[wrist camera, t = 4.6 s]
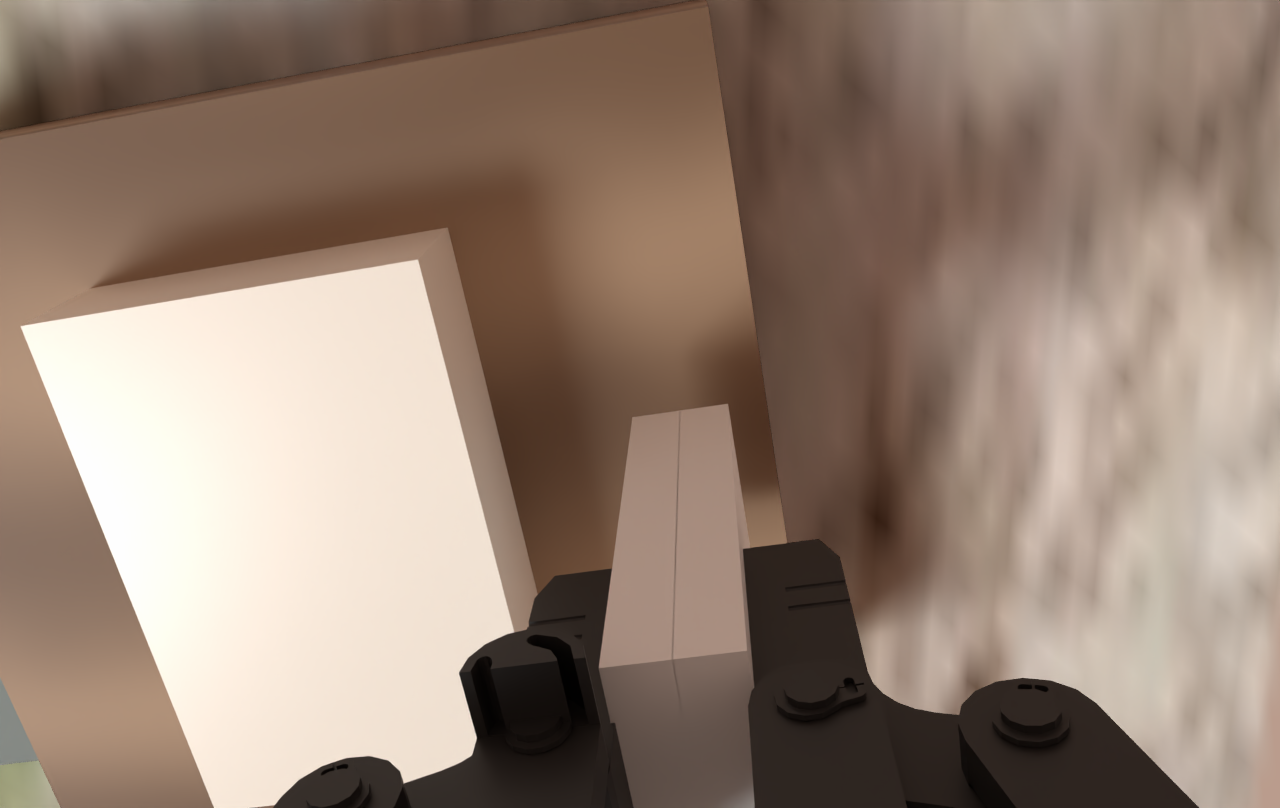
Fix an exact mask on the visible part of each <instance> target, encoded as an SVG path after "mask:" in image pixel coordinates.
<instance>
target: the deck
mask: <svg viewBox="0 0 1280 808" xmlns="http://www.w3.org/2000/svg"><path fill="white" fill-rule="evenodd" d="M442 228H448V231H449V235H450V239H451V243H452V247H453V251H454V255H455V259H456V263H457V267H458V271H459V276H460V280H461V284H462V288H463V292H464V296H465V300H466V304H467V308H468V312H469V316H470V320H471V324H472V328H473V333H474V337H475V341H476V345H477V349H478V353H479V357H480V361H481V365H482V369H483V373H484V377H485V381H486V386H487V390H488V394H489V398H490V402H491V406H492V410H493V414H494V418H495V422H496V426H497V430H498V434H499V439H500V443H501V447H502V451H503V455H504V459H505V463H506V467H507V471H508V475H509V479H510V483H511V487H512V492H513V496H514V500H515V504H516V508H517V512H518V516H519V520H520V524H521V528H522V532H523V536H524V540H525V545H526V549H527V553H528V557H529V561H530V565H531V569H532V573H533V577H534V581H535V585H536V589H537V593H538V594H539V593H540V592H541V591H542V589H543V588H544V587H545V586H546V585H547V584H548V583H549V582H550V581H551V579H552V578H553V577H554V576H557V575H565V574H572V573H580V572H588V571H596V570H604V569H611V568H612V565H613V558H614V551H615V543H616V536H617V528H618V521H619V513H620V506H621V499H622V491H623V484H624V476H625V469H626V461H627V454H628V447H629V439H630V432H631V424H632V417H638V416H645V415H652V414H659V413H666V412H673V411H680V410H687V409H694V408H701V407H708V406H715V405H723V404H728V407H729V414H730V420H731V427H732V433H733V440H734V446H735V453H736V459H737V466H738V472H739V479H740V485H741V491H742V498H743V504H744V511H745V517H746V524H747V530H748V537H749V543H750V548H753V547H761V546H769V545H777V544H784V543H787V538H786V531H785V524H784V517H783V511H782V504H781V497H780V490H779V483H778V477H777V470H776V463H775V456H774V449H773V443H772V436H771V429H770V422H769V415H768V409H767V402H766V395H765V388H764V382H763V375H762V368H761V361H760V354H759V348H758V341H757V334H756V327H755V320H754V314H753V307H752V300H751V293H750V286H749V280H748V273H747V266H746V259H745V252H744V246H743V239H742V232H741V225H740V218H739V212H738V205H737V198H736V191H735V184H734V178H733V171H732V164H731V157H730V150H729V144H728V137H727V130H726V123H725V116H724V110H723V103H722V96H721V89H720V82H719V76H718V69H717V62H716V55H715V48H714V42H713V35H712V28H711V21H710V15H709V8H708V4H707V1H706V0H693V1H688V2H682V3H677V4H672V5H666V6H661V7H656V8H650V9H645V10H640V11H635V12H629V13H624V14H619V15H613V16H608V17H603V18H597V19H592V20H587V21H582V22H576V23H571V24H566V25H560V26H555V27H550V28H544V29H539V30H534V31H529V32H523V33H518V34H513V35H507V36H502V37H497V38H491V39H486V40H481V41H475V42H470V43H465V44H460V45H454V46H449V47H444V48H438V49H433V50H428V51H422V52H417V53H412V54H407V55H401V56H396V57H391V58H385V59H380V60H375V61H369V62H364V63H359V64H353V65H348V66H343V67H338V68H332V69H327V70H322V71H316V72H311V73H306V74H300V75H295V76H290V77H285V78H279V79H274V80H269V81H263V82H258V83H253V84H247V85H242V86H237V87H232V88H226V89H221V90H216V91H210V92H205V93H200V94H194V95H189V96H184V97H178V98H173V99H168V100H163V101H157V102H152V103H147V104H141V105H136V106H131V107H125V108H120V109H115V110H110V111H104V112H99V113H94V114H88V115H83V116H78V117H72V118H67V119H62V120H57V121H51V122H46V123H41V124H35V125H30V126H25V127H19V128H14V129H9V130H3V131H0V678H1V680H2V682H3V685H4V687H5V689H6V691H7V693H8V695H9V697H10V700H11V702H12V704H13V706H14V708H15V710H16V712H17V715H18V717H19V719H20V721H21V723H22V725H23V728H24V730H25V732H26V734H27V736H28V738H29V740H30V743H31V745H32V747H33V749H34V751H35V753H36V755H37V758H38V760H39V762H40V764H41V766H42V768H43V771H44V773H45V775H46V777H47V779H48V781H49V783H50V786H51V788H52V790H53V792H54V794H55V796H56V798H57V801H58V803H59V805H60V807H61V808H214V807H213V804H212V802H211V799H210V797H209V794H208V792H207V789H206V787H205V784H204V782H203V779H202V777H201V774H200V772H199V769H198V767H197V764H196V762H195V759H194V757H193V754H192V752H191V749H190V747H189V744H188V742H187V739H186V737H185V734H184V732H183V729H182V727H181V724H180V722H179V719H178V717H177V715H176V712H175V710H174V707H173V705H172V702H171V700H170V697H169V695H168V692H167V690H166V687H165V685H164V682H163V680H162V677H161V675H160V672H159V670H158V667H157V665H156V662H155V660H154V657H153V655H152V652H151V650H150V647H149V645H148V642H147V640H146V637H145V635H144V632H143V630H142V627H141V625H140V622H139V620H138V617H137V615H136V612H135V610H134V607H133V605H132V602H131V600H130V598H129V595H128V593H127V590H126V588H125V585H124V583H123V580H122V578H121V575H120V573H119V570H118V568H117V565H116V563H115V560H114V558H113V555H112V553H111V550H110V548H109V545H108V543H107V540H106V538H105V535H104V533H103V530H102V528H101V525H100V523H99V520H98V518H97V515H96V513H95V510H94V508H93V505H92V503H91V500H90V498H89V495H88V493H87V490H86V488H85V486H84V483H83V481H82V478H81V476H80V473H79V471H78V468H77V466H76V463H75V461H74V458H73V456H72V453H71V451H70V448H69V446H68V443H67V441H66V438H65V436H64V433H63V431H62V428H61V426H60V423H59V421H58V418H57V416H56V413H55V411H54V408H53V406H52V403H51V401H50V398H49V396H48V393H47V391H46V388H45V386H44V383H43V381H42V378H41V376H40V374H39V371H38V369H37V366H36V364H35V361H34V359H33V356H32V354H31V351H30V349H29V346H28V344H27V341H26V339H25V336H24V334H23V331H22V329H21V326H22V325H24V324H25V323H27V322H29V321H31V320H33V319H35V318H37V317H38V316H40V315H42V314H44V313H46V312H48V311H49V310H51V309H53V308H55V307H57V306H59V305H61V304H62V303H64V302H66V301H68V300H70V299H72V298H74V297H75V296H77V295H79V294H81V293H83V292H85V291H87V290H88V289H90V288H95V287H101V286H107V285H113V284H119V283H125V282H131V281H137V280H142V279H148V278H154V277H160V276H166V275H172V274H178V273H184V272H189V271H195V270H201V269H207V268H213V267H219V266H225V265H231V264H236V263H242V262H248V261H254V260H260V259H266V258H272V257H277V256H283V255H289V254H295V253H301V252H307V251H313V250H319V249H324V248H330V247H336V246H342V245H348V244H354V243H360V242H366V241H371V240H377V239H383V238H389V237H395V236H401V235H407V234H413V233H418V232H424V231H430V230H436V229H442ZM273 807H274V805H271V806H263V807H254V808H273Z"/></svg>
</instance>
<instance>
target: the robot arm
mask: <svg viewBox="0 0 1280 808" xmlns="http://www.w3.org/2000/svg"><path fill="white" fill-rule="evenodd" d="M459 676H460V679H461V683H462V686H463V690H464V694H465V697H466V701H467V704H468V708H469V712H470V715H471V719H472V723H473V726H474V730H475V733H476V737H477V739H476V743H475V747H474V750H473V754H472V756H470V757H469V758H467V759H465V760H464V761H462V762H460V763H458V764H456V765H454V766H451V767H449V768H446V769H444V770H442V771H439V772H436V773H433V774H430V775H427V776H424V777H421V778H418V779H415V780H412V781H410V782H407V783H404V782H403V779H402V776H401V773H400V771H399V770H398V769H397V768H396V767H395V766H394V765H393V764H392V763H391V762H389V761H388V760H384V759H380V758H376V757H372V756H363V757H352V758H345V759H342V760H339V761H336V762H332V763H330V764H327V765H324V766H321V767H320V768H318V769H316V770H315V771H313V772H311V773H310V774H308V775H306V776H304V777H303V778H301V779H299V780H298V781H297V782H296V783H295V784H294V785H293V786H292V787H291V788H290V789H289V790H288V791H287V792H286V793H285V794H284V795H283V796H282V797H281V798H280V799H279V800H278V802H277V803H276V804H275V805H274V807H273V808H1199V807H1198V806H1197V805H1196V804H1195V803H1194V802H1193V801H1192V800H1191V799H1190V798H1189V797H1188V796H1187V795H1186V794H1185V793H1184V792H1183V791H1182V790H1181V789H1180V788H1179V787H1178V786H1177V785H1176V784H1175V783H1174V782H1173V781H1172V780H1171V779H1170V778H1169V777H1168V776H1167V775H1166V774H1165V773H1164V772H1163V771H1162V770H1161V769H1160V768H1159V767H1158V766H1157V765H1156V764H1155V763H1154V762H1153V761H1152V760H1151V759H1150V758H1149V756H1148V755H1147V754H1146V753H1145V752H1144V751H1143V750H1142V749H1141V748H1140V747H1139V746H1138V745H1137V744H1136V743H1135V742H1134V741H1133V740H1132V739H1131V738H1130V737H1129V736H1128V735H1127V734H1126V733H1125V732H1124V731H1123V730H1122V729H1121V728H1120V727H1119V726H1118V725H1117V724H1116V723H1115V722H1114V721H1113V720H1112V719H1111V718H1110V717H1109V716H1108V715H1107V714H1106V713H1105V712H1104V711H1103V710H1102V709H1101V708H1100V707H1099V706H1098V705H1097V704H1096V703H1095V702H1094V701H1092V700H1091V699H1089V698H1088V697H1086V696H1085V695H1084V694H1082V693H1081V692H1079V691H1078V690H1077V689H1074V688H1071V687H1068V686H1065V685H1062V684H1059V683H1056V682H1053V681H1049V680H1039V679H1028V678H1020V679H1012V680H1005V681H998V682H995V683H993V684H990V685H988V686H986V687H983V688H981V689H979V690H977V691H975V692H974V693H973V694H972V695H971V696H970V697H969V698H968V699H967V700H966V701H965V702H964V703H963V704H962V706H961V710H960V715H952V714H943V713H934V712H929V711H924V710H918V709H914V708H911V707H909V706H906V705H903V704H900V703H898V702H896V701H894V700H893V699H891V698H889V697H888V696H886V695H885V694H883V693H882V692H881V691H880V690H879V689H878V688H877V687H876V686H875V685H874V684H873V682H872V680H871V678H870V676H869V674H868V671H867V667H866V663H865V659H864V655H863V651H862V647H861V643H860V639H859V634H858V630H857V626H856V622H855V618H854V614H853V610H852V606H851V603H850V598H849V594H848V590H847V586H846V583H845V577H844V573H843V569H842V565H841V561H840V557H839V556H838V555H837V554H835V553H834V552H833V551H832V550H831V549H830V548H828V547H827V546H826V545H825V544H824V543H823V542H821V541H820V540H819V539H816V540H808V541H800V542H792V543H784V544H777V545H769V546H761V547H753V548H750V543H749V537H748V530H747V524H746V517H745V511H744V504H743V498H742V491H741V485H740V479H739V472H738V466H737V459H736V453H735V446H734V440H733V433H732V427H731V420H730V414H729V407H728V404H723V405H715V406H708V407H701V408H694V409H687V410H680V411H673V412H666V413H659V414H652V415H645V416H638V417H632V424H631V432H630V439H629V447H628V454H627V461H626V469H625V476H624V484H623V491H622V499H621V506H620V513H619V521H618V528H617V536H616V543H615V551H614V558H613V565H612V568H611V569H604V570H596V571H588V572H580V573H572V574H565V575H557V576H554V577H553V578H552V579H551V581H550V582H549V583H548V584H547V585H546V586H545V587H544V588H543V589H542V591H541V592H540V593H539V594H538V595H537V596H536V597H535V598H534V602H533V606H532V610H531V614H530V618H529V627H527V630H523V631H518V632H514V633H510V634H506V635H504V636H502V637H500V638H497V639H495V640H493V641H491V642H489V643H487V644H485V645H483V646H482V647H481V648H480V649H478V650H477V651H476V652H475V653H473V654H472V655H471V656H470V657H468V659H467V660H466V662H465V664H464V665H463V667H462V668H461V670H460V672H459Z"/></svg>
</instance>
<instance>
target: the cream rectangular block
mask: <svg viewBox="0 0 1280 808" xmlns="http://www.w3.org/2000/svg"><path fill="white" fill-rule="evenodd" d="M21 329H22V331H23V334H24V336H25V339H26V341H27V344H28V346H29V349H30V351H31V354H32V356H33V359H34V361H35V364H36V366H37V369H38V371H39V374H40V376H41V378H42V381H43V383H44V386H45V388H46V391H47V393H48V396H49V398H50V401H51V403H52V406H53V408H54V411H55V413H56V416H57V418H58V421H59V423H60V426H61V428H62V431H63V433H64V436H65V438H66V441H67V443H68V446H69V448H70V451H71V453H72V456H73V458H74V461H75V463H76V466H77V468H78V471H79V473H80V476H81V478H82V481H83V483H84V486H85V488H86V490H87V493H88V495H89V498H90V500H91V503H92V505H93V508H94V510H95V513H96V515H97V518H98V520H99V523H100V525H101V528H102V530H103V533H104V535H105V538H106V540H107V543H108V545H109V548H110V550H111V553H112V555H113V558H114V560H115V563H116V565H117V568H118V570H119V573H120V575H121V578H122V580H123V583H124V585H125V588H126V590H127V593H128V595H129V598H130V600H131V602H132V605H133V607H134V610H135V612H136V615H137V617H138V620H139V622H140V625H141V627H142V630H143V632H144V635H145V637H146V640H147V642H148V645H149V647H150V650H151V652H152V655H153V657H154V660H155V662H156V665H157V667H158V670H159V672H160V675H161V677H162V680H163V682H164V685H165V687H166V690H167V692H168V695H169V697H170V700H171V702H172V705H173V707H174V710H175V712H176V715H177V717H178V719H179V722H180V724H181V727H182V729H183V732H184V734H185V737H186V739H187V742H188V744H189V747H190V749H191V752H192V754H193V757H194V759H195V762H196V764H197V767H198V769H199V772H200V774H201V777H202V779H203V782H204V784H205V787H206V789H207V792H208V794H209V797H210V799H211V802H212V804H213V807H214V808H254V807H263V806H271V805H275V804H276V803H277V802H278V800H279V799H280V798H281V797H282V796H283V795H284V794H285V793H286V792H287V791H288V790H289V789H290V788H291V787H292V786H293V785H294V784H295V783H296V782H297V781H298V780H299V779H301V778H303V777H304V776H306V775H308V774H310V773H311V772H313V771H315V770H316V769H318V768H320V767H321V766H324V765H327V764H330V763H332V762H336V761H339V760H342V759H345V758H352V757H363V756H372V757H376V758H380V759H384V760H388V761H389V762H391V763H392V764H393V765H394V766H395V767H396V768H397V769H398V770H399V771H400V773H401V776H402V779H403V782H404V783H407V782H410V781H412V780H415V779H418V778H421V777H424V776H427V775H430V774H433V773H436V772H439V771H442V770H444V769H446V768H449V767H451V766H454V765H456V764H458V763H460V762H462V761H464V760H465V759H467V758H469V757H470V756H472V754H473V750H474V747H475V743H476V739H477V737H476V733H475V730H474V726H473V723H472V719H471V715H470V712H469V708H468V704H467V701H466V697H465V694H464V690H463V686H462V683H461V679H460V676H459V672H460V670H461V668H462V667H463V665H464V664H465V662H466V660H467V659H468V657H470V656H471V655H472V654H473V653H475V652H476V651H477V650H478V649H480V648H481V647H482V646H483V645H485V644H487V643H489V642H491V641H493V640H495V639H497V638H500V637H502V636H504V635H506V634H510V633H514V632H518V631H523V630H527V627H529V618H530V614H531V610H532V606H533V602H534V598H535V597H536V596H537V595H538V593H537V589H536V585H535V581H534V577H533V573H532V569H531V565H530V561H529V557H528V553H527V549H526V545H525V540H524V536H523V532H522V528H521V524H520V520H519V516H518V512H517V508H516V504H515V500H514V496H513V492H512V487H511V483H510V479H509V475H508V471H507V467H506V463H505V459H504V455H503V451H502V447H501V443H500V439H499V434H498V430H497V426H496V422H495V418H494V414H493V410H492V406H491V402H490V398H489V394H488V390H487V386H486V381H485V377H484V373H483V369H482V365H481V361H480V357H479V353H478V349H477V345H476V341H475V337H474V333H473V328H472V324H471V320H470V316H469V312H468V308H467V304H466V300H465V296H464V292H463V288H462V284H461V280H460V276H459V271H458V267H457V263H456V259H455V255H454V251H453V247H452V243H451V239H450V235H449V231H448V228H442V229H436V230H430V231H424V232H418V233H413V234H407V235H401V236H395V237H389V238H383V239H377V240H371V241H366V242H360V243H354V244H348V245H342V246H336V247H330V248H324V249H319V250H313V251H307V252H301V253H295V254H289V255H283V256H277V257H272V258H266V259H260V260H254V261H248V262H242V263H236V264H231V265H225V266H219V267H213V268H207V269H201V270H195V271H189V272H184V273H178V274H172V275H166V276H160V277H154V278H148V279H142V280H137V281H131V282H125V283H119V284H113V285H107V286H101V287H95V288H90V289H88V290H87V291H85V292H83V293H81V294H79V295H77V296H75V297H74V298H72V299H70V300H68V301H66V302H64V303H62V304H61V305H59V306H57V307H55V308H53V309H51V310H49V311H48V312H46V313H44V314H42V315H40V316H38V317H37V318H35V319H33V320H31V321H29V322H27V323H25V324H24V325H22V326H21Z"/></svg>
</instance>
